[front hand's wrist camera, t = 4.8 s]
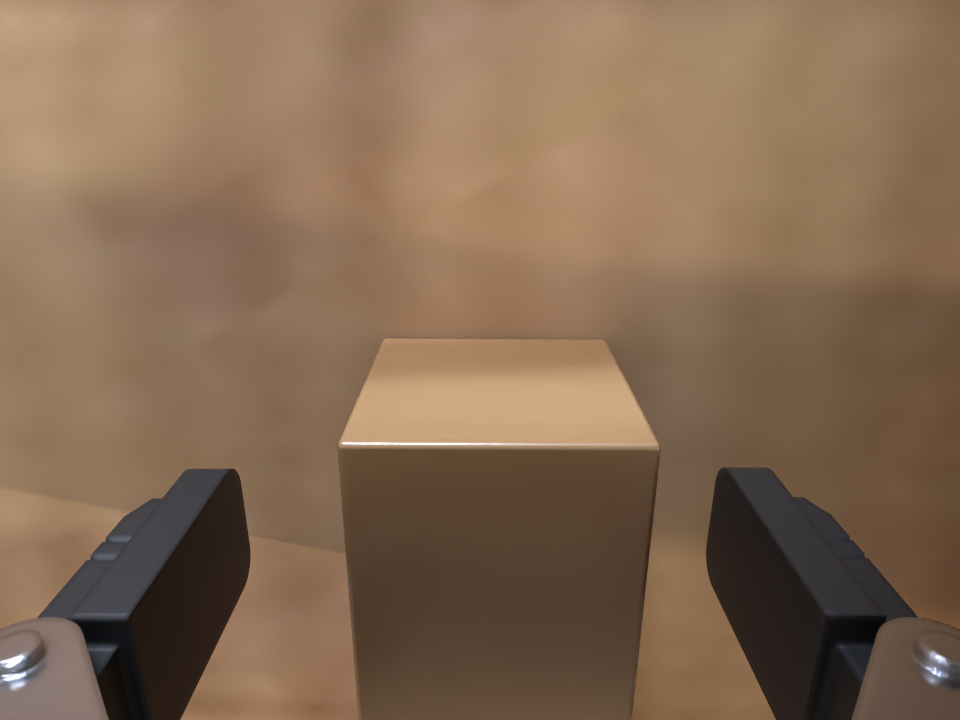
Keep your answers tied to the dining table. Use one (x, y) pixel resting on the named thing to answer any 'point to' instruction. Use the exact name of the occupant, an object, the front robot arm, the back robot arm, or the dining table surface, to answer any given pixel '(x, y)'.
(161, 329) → the dining table surface
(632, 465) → the block
